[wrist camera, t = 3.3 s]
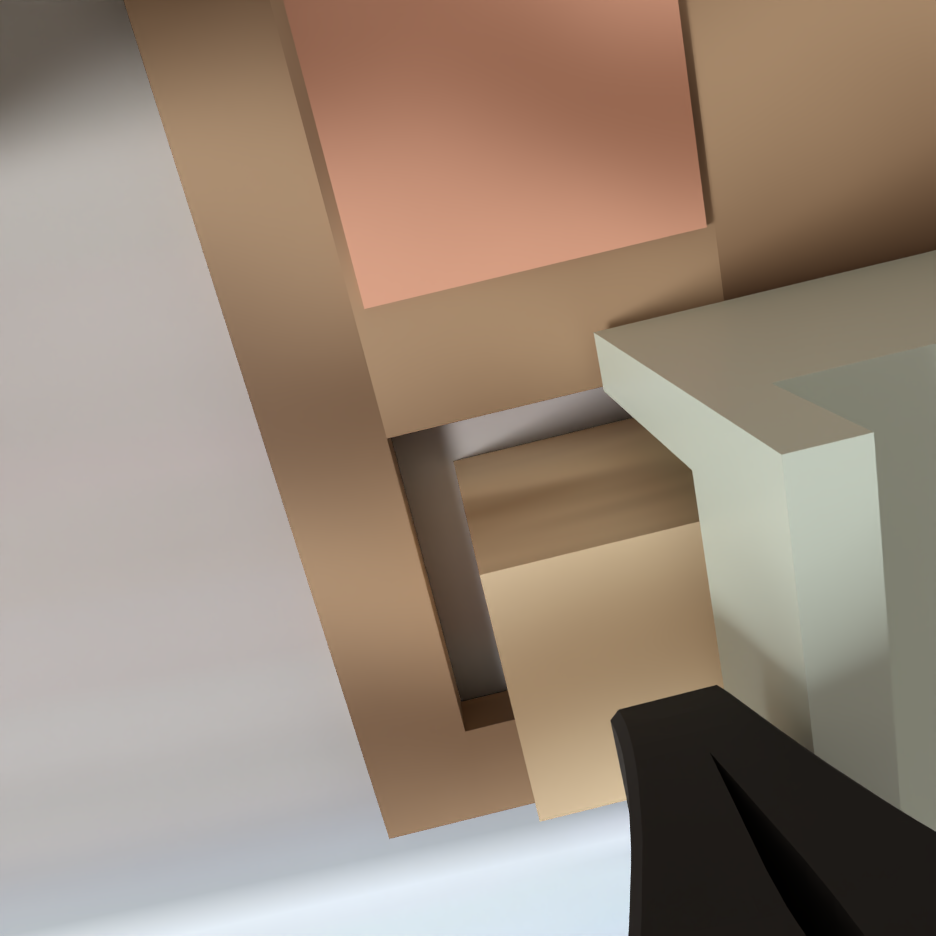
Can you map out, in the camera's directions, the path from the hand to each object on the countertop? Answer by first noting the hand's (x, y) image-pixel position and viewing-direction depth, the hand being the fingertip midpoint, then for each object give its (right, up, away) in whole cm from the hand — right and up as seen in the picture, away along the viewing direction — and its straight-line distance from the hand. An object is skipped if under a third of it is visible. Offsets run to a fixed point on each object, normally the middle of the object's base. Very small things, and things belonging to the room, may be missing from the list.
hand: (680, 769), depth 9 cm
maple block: (0, +2, +7) cm, 7 cm away
